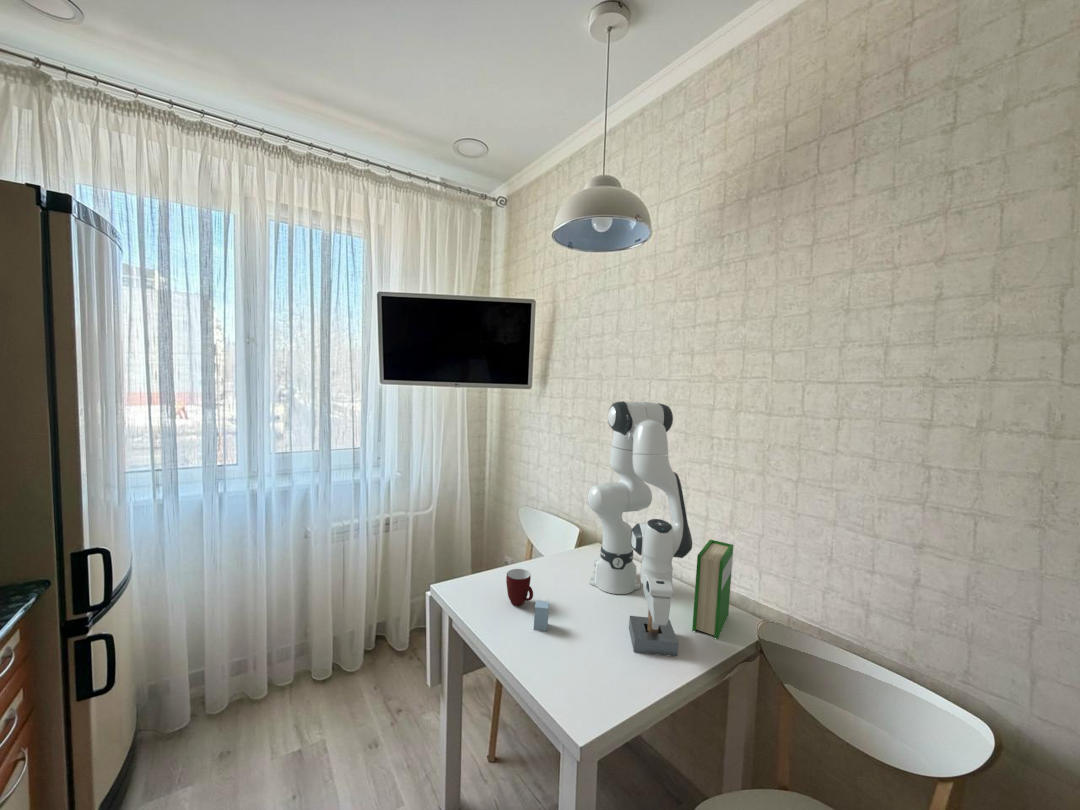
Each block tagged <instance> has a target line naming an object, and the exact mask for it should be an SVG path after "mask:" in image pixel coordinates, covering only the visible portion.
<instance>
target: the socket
mask: <svg viewBox="0 0 1080 810" xmlns="http://www.w3.org/2000/svg"><path fill="white" fill-rule="evenodd" d="M628 619H629V620H628V621H629V622H628V630H629V634H630V635H629V636H630V640H631V645H632V649H633V650H632V651H633V653H635V654H637V653H639V654H646V653H649V654H648V655H655V654H659V655H658V656H665V655H670V656H669V657H675V656H678V654H679V641H678V638H677V636H676V632H675V631H674V627H673V626H672V622H671V619H668V623H667V625H666V626H661V625H659V632H658V633H649V632H647V627H648V616H640V615H639V616H636V615H629V618H628Z"/></svg>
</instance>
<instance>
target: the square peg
mask: <svg viewBox="0 0 1080 810" xmlns="http://www.w3.org/2000/svg"><path fill="white" fill-rule="evenodd" d="M549 606H550V602H549V601H543V600H535V604H534V612H533V613H534V615H533V631H542V632H548V626H549V609H550V607H549Z"/></svg>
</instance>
